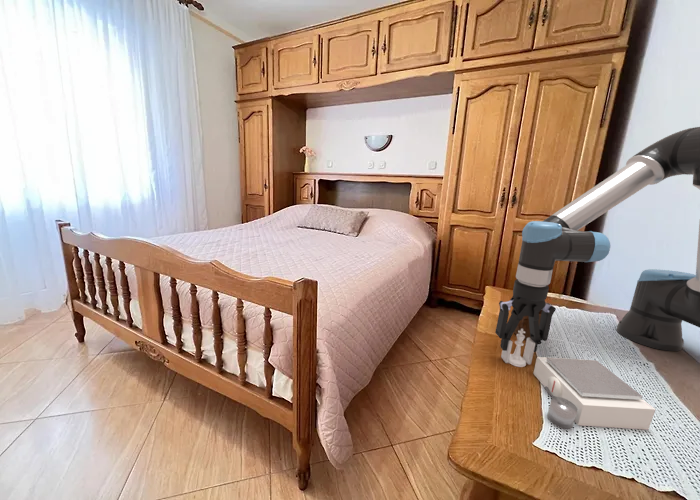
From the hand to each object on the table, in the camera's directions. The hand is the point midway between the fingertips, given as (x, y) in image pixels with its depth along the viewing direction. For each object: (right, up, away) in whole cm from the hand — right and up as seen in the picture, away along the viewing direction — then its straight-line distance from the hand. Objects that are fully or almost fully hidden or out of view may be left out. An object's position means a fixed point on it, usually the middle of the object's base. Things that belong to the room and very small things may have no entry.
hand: (515, 360), depth 79 cm
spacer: (-2, -5, -19) cm, 20 cm away
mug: (+10, +2, +12) cm, 16 cm away
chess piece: (0, 0, 0) cm, 0 cm away
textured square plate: (+9, +1, -14) cm, 17 cm away
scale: (+8, -4, -13) cm, 16 cm away
